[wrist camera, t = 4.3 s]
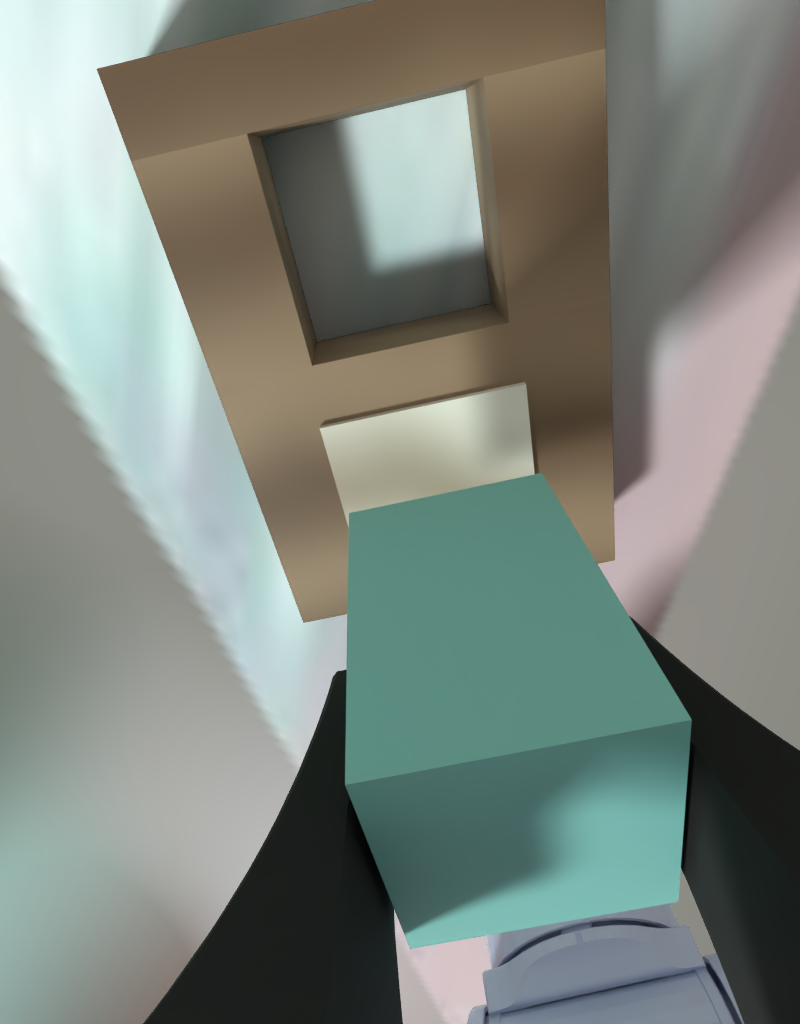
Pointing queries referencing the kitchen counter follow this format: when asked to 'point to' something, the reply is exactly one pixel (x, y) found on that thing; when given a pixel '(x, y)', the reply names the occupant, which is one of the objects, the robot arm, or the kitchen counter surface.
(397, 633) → the teal block
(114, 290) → the kitchen counter surface
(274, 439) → the pocket plate
